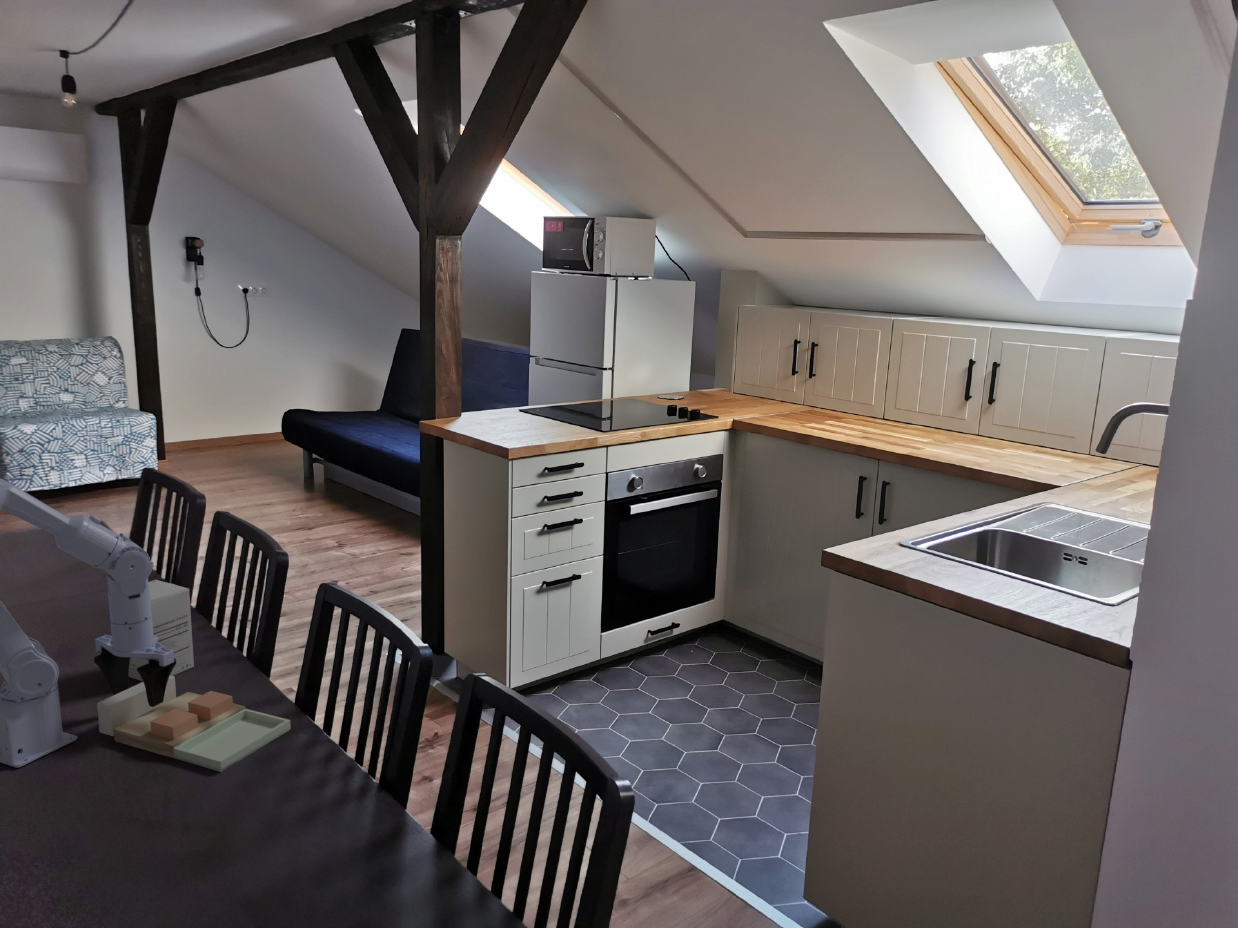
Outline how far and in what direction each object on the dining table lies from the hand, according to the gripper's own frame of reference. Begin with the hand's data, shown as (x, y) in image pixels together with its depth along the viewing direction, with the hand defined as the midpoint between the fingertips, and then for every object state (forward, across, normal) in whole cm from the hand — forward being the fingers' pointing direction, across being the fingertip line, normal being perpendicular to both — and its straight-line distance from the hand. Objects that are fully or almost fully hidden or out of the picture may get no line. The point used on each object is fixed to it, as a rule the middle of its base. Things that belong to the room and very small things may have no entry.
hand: (138, 699), depth 148 cm
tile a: (+1, -12, +4) cm, 12 cm away
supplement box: (+3, +12, -14) cm, 19 cm away
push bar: (+3, 0, 0) cm, 3 cm away
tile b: (+1, -12, -3) cm, 12 cm away
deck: (+3, -9, 0) cm, 9 cm away
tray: (+3, -20, 0) cm, 20 cm away
